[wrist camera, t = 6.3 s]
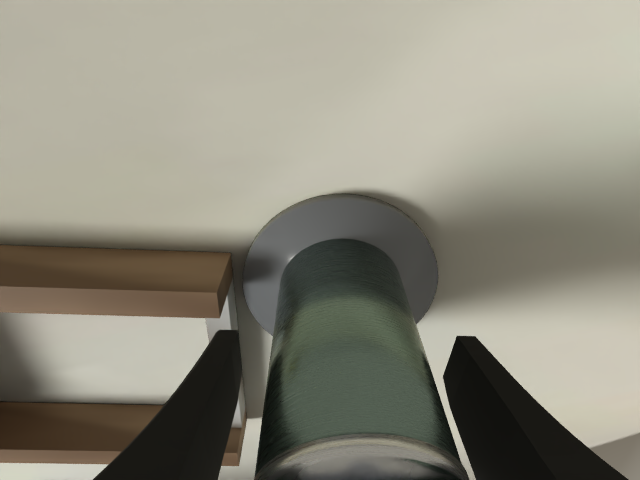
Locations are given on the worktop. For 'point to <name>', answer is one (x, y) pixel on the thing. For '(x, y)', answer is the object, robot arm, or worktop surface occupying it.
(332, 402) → the tin can
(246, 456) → the worktop surface
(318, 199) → the coaster
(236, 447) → the frame
